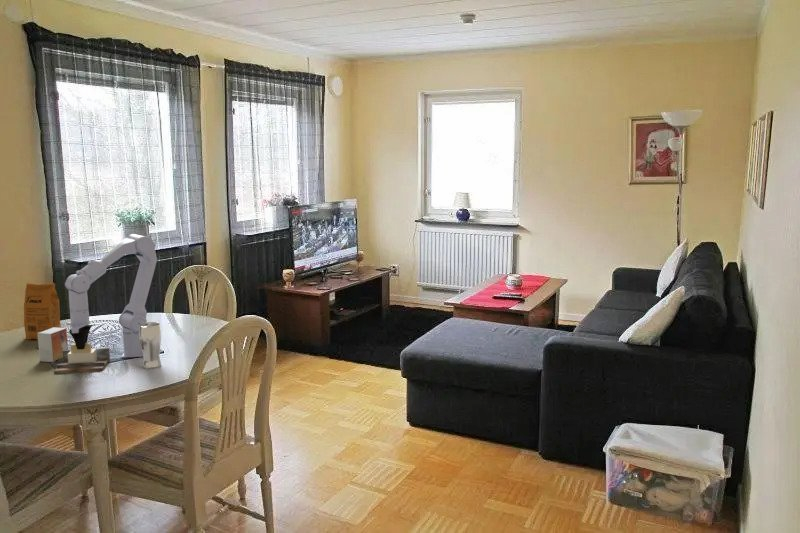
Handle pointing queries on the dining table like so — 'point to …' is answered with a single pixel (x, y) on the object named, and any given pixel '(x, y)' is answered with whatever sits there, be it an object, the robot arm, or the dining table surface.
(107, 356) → the grey brown open tray
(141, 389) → the dining table surface
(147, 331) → the beer glass
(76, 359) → the large cream box
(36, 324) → the coffee package
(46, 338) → the small box
